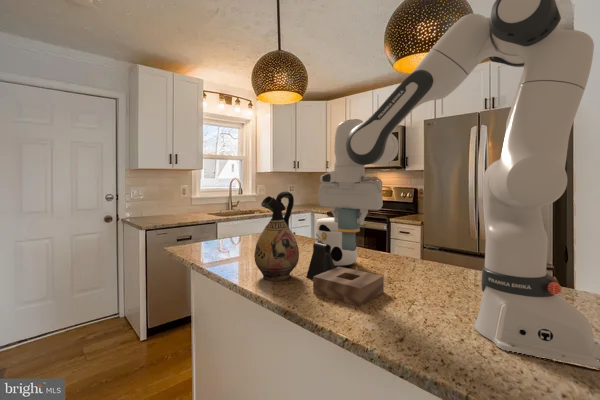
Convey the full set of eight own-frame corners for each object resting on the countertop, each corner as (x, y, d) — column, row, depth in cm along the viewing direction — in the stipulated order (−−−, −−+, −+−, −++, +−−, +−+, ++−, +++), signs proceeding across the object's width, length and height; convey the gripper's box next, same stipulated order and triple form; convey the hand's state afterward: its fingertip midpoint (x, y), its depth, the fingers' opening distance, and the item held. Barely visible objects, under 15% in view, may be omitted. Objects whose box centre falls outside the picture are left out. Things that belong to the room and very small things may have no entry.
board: (383, 292, 95) (383, 275, 95) (360, 306, 85) (360, 288, 84) (338, 281, 106) (338, 266, 105) (313, 292, 95) (313, 276, 95)
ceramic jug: (269, 287, 100) (268, 192, 98) (247, 275, 112) (245, 191, 110) (311, 277, 110) (311, 191, 108) (286, 267, 122) (286, 190, 120)
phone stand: (317, 282, 105) (317, 246, 104) (306, 277, 110) (306, 243, 109) (337, 277, 110) (337, 243, 110) (325, 273, 115) (326, 240, 114)
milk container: (305, 264, 127) (304, 219, 126) (333, 256, 139) (333, 216, 138) (337, 273, 115) (337, 224, 113) (366, 264, 126) (366, 220, 125)
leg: (363, 248, 95) (364, 208, 94) (352, 252, 90) (352, 210, 89) (345, 245, 99) (345, 207, 98) (333, 249, 94) (333, 208, 93)
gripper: (387, 176, 89) (386, 225, 90) (327, 176, 102) (327, 219, 103) (376, 176, 84) (376, 228, 85) (315, 176, 97) (315, 221, 98)
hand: (348, 223), depth 94 cm, fingers closed on leg, 6 cm apart
